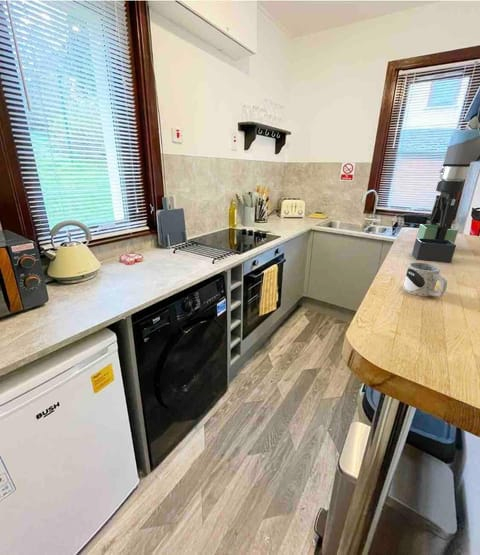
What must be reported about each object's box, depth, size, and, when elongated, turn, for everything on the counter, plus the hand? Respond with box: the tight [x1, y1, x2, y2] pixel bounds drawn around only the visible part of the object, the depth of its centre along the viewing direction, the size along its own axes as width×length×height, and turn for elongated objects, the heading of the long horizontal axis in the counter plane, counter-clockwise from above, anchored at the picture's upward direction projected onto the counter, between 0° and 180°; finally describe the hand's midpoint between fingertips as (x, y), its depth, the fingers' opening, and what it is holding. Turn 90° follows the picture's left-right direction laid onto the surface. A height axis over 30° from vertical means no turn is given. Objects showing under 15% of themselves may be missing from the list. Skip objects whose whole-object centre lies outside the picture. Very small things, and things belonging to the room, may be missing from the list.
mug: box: [402, 261, 448, 298], centre depth 68 cm, size 10×7×7 cm, turn 14°
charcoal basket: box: [411, 237, 457, 264], centre depth 93 cm, size 10×6×6 cm, turn 72°
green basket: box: [416, 223, 459, 244], centre depth 103 cm, size 10×8×8 cm
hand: (433, 243), depth 104 cm, fingers closed on green basket, 8 cm apart
